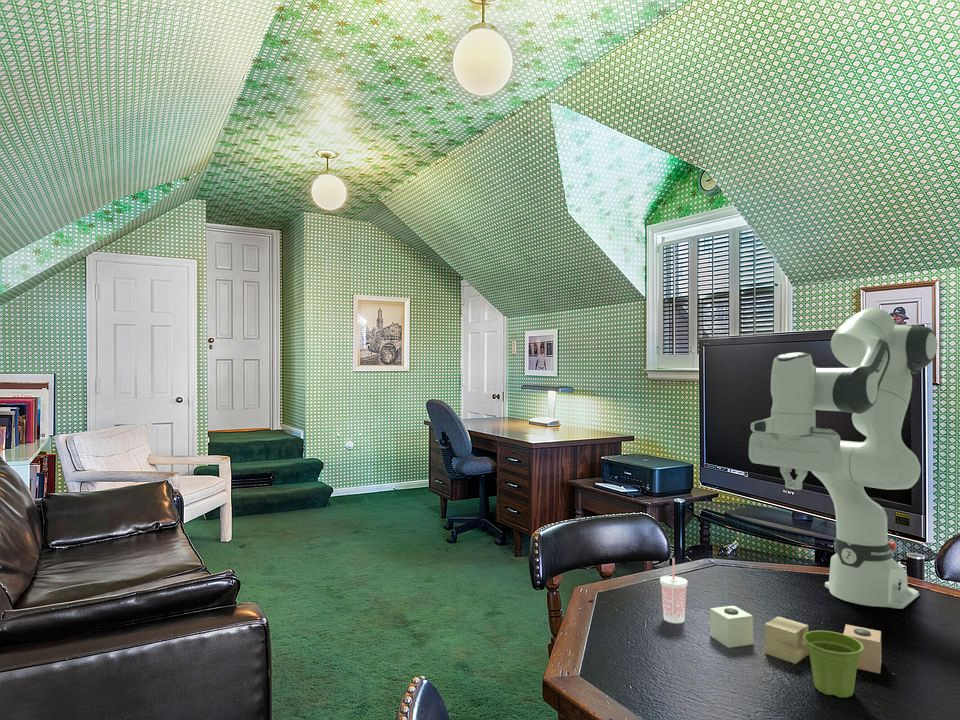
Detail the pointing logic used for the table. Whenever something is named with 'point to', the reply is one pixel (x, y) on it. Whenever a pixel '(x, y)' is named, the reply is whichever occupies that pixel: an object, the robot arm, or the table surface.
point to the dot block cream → (731, 626)
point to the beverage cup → (673, 597)
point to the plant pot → (833, 661)
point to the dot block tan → (867, 647)
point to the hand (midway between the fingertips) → (793, 488)
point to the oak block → (786, 639)
